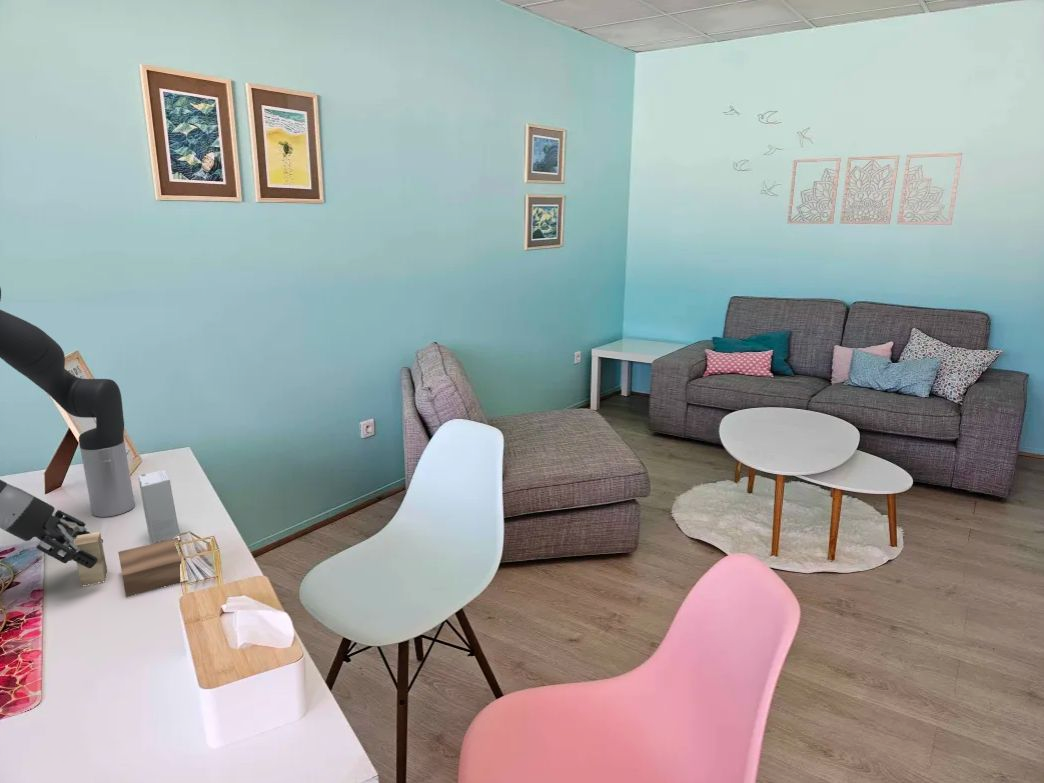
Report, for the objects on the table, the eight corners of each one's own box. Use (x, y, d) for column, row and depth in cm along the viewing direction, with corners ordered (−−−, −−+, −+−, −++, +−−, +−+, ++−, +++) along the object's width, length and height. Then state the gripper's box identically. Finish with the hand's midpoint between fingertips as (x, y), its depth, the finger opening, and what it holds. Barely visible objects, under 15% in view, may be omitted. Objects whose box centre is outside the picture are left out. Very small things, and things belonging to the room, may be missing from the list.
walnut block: (122, 573, 141) (118, 551, 140) (180, 559, 147) (177, 537, 146) (126, 598, 132) (122, 575, 131) (188, 581, 138) (185, 559, 137)
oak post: (84, 575, 140) (77, 535, 138) (107, 571, 142) (100, 531, 139) (81, 586, 136) (73, 545, 134) (104, 582, 138) (97, 541, 135)
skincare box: (181, 541, 154) (172, 479, 150) (151, 548, 151) (141, 485, 147) (176, 527, 161) (167, 468, 157) (147, 534, 158) (137, 473, 154)
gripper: (23, 511, 124) (106, 555, 132) (39, 483, 137) (114, 525, 144) (-7, 543, 124) (79, 586, 131) (12, 512, 136) (89, 553, 144)
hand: (97, 554), depth 138 cm, fingers open, 8 cm apart
